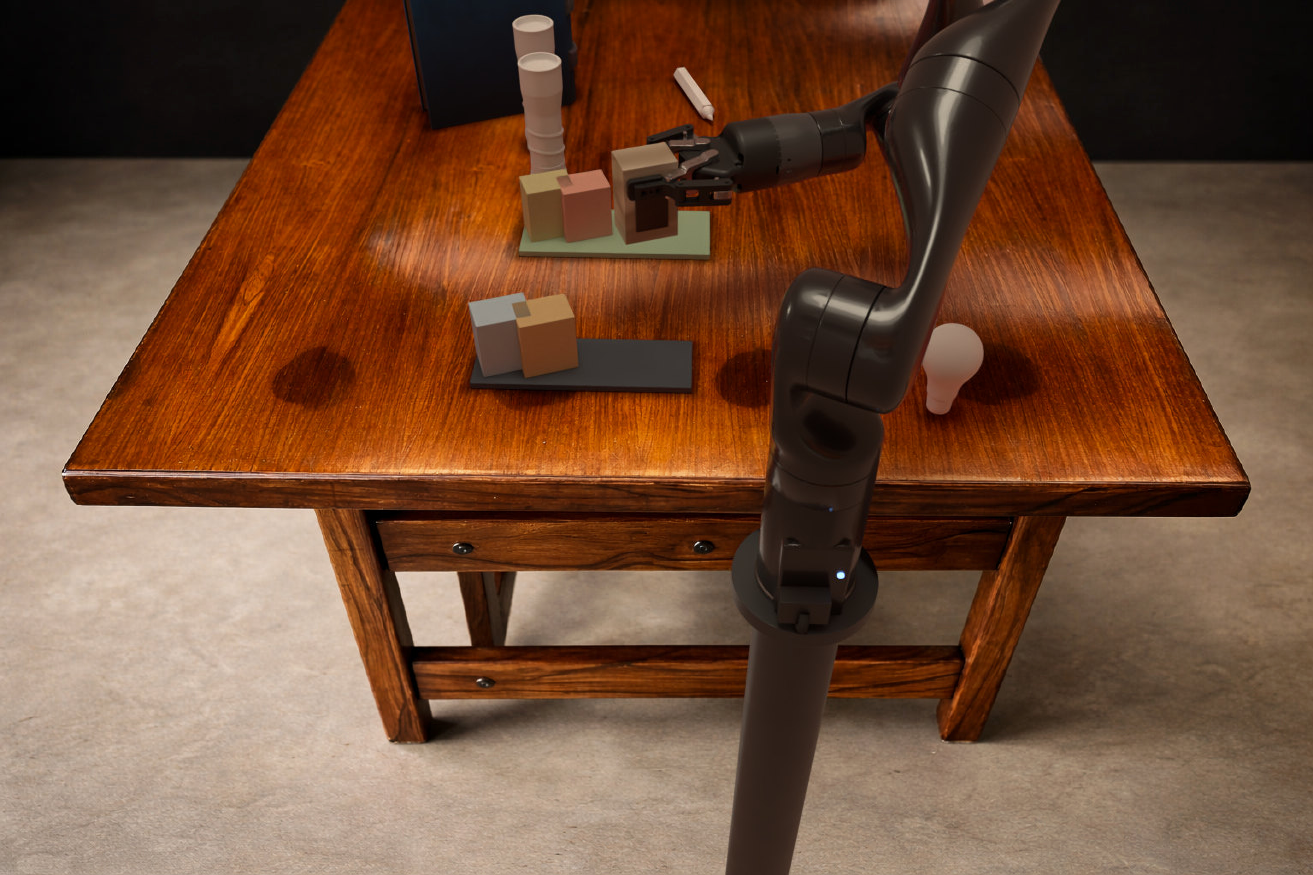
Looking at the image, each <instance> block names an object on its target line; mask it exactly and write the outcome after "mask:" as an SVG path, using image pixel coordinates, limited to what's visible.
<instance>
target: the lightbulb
mask: <svg viewBox="0 0 1313 875" xmlns="http://www.w3.org/2000/svg"><path fill="white" fill-rule="evenodd" d="M984 354H985V352H984V345H983V342H982V340H981V339H980V337H979V335H978V334H977V333H976V332H975V330H973V329H972V328H971V327H969V326H967V325H965V324H961V323H957V322H955V323H953V322H950V323H949V322H947V323H943V324H941V325H939V326H936V327H934V330H933V333H932V336H931V340H930V342H929V345H928V348H927V351H926V354H925V357H924V359H923V362H922V365H921V366H922V367H923V370H924V372H925V374H926V378H927V384H926V393H927V396H926V403H925V406H926V408H927V410H928V411H929V412H930V413H932V414H935V415H945V414H947V413H948V412H950V410H951V407H952V405H953V402H954V400H955V399H956V398H957V396H958V394H959V391H960V389H961V388H962V386H963V385H964V384H965V383H966V382H968V381H969V380H970V379H971V378H973V376H974V375H976V374H977V373H978V371H979V369H980V368H981V366H982V364H983V361H984Z"/></svg>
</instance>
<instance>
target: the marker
mask: <svg viewBox="0 0 1313 875" xmlns="http://www.w3.org/2000/svg"><path fill="white" fill-rule="evenodd" d="M673 77H674V79H675V81H676V82H677V83H678V85H679V86H680V87H681V89H682V90H683V92H684V94H685V95H686V96H687V98H688V99H689V101H690V102H691V103H692V105H693V107H694V108H695V109H696V111H697V112H698V114H699V115H700V116H701V118H702V119H708V120H709V121H712V122H713V121H714V117H713V116H714V113H715V111H716V109H715V108H714V106H713V105H712V103H711V101H710V100H709V98H708V97H707V96H706V94H704V92H703V91H702V89H701V88H700V87H699V85H698V83H697V82H696V81H695V80H694V79H693V77H692V76H691V74H690V73H689V71H688V70H687V68H686V67H685V66H683V67H676V70H675V71H674V73H673Z"/></svg>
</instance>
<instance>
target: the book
mask: <svg viewBox="0 0 1313 875" xmlns="http://www.w3.org/2000/svg"><path fill="white" fill-rule="evenodd" d="M402 3H403V9H404V15H405V20H406V27H407V31H408V38H409V43H410V50H411V54H412V55H411V56H412V61H413V66H414V71H415V77H416V82H417V84H416V85H417V89H418V95H419V100H420V105H421V110H422V111H423V112H425V111H427V112H428V113H427V114H428V118H429V123H430V128H431V130H432V131H433V130H438V129H444V128H449V127H454V126H459V125H460V126H461V125H466V124H471V123H476V122H477V123H478V122H482V121H488V120H493V119H498V118H503V117H504V118H505V117H510V116H515V115H521V114H525V111H524V106H523V104H522V103H523V97H522V93H521V88H520V78H519V68H518V59H517V55H516V51H515V42H514V32H513V26H512V24H513V22H514V21H515V20H516V19H517V18H520V17H523V16H527V15H542V16H546V17H548V18H550V19H551V20H552V21H553V30H554V44H555V51H554V54H555V55H557V56H558V57H559V58H560V59H561V71H562V85H563V88H562V101H561V107H563V106H569V105H571V104H573V103H574V102H575V101H576V99H577V93H576V92H577V91H576V78H575V77H576V76H575V67H576V66H577V65H578V63H579V62H578V46H577V43H576V42H575V41H574V40H573V29H572V14H571V13H572V12H573V11H574V10H575V0H402Z"/></svg>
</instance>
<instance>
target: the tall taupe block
mask: <svg viewBox="0 0 1313 875" xmlns="http://www.w3.org/2000/svg"><path fill="white" fill-rule="evenodd" d="M610 153H611V154H610V156H611V169H612V170H611V174H612V194H613V195H612V196H613V210H614V217H615V225H616V227H617V229H618V231H619V233H620V235H621V237H622V239H623V240H624V242H625V244H626V245H629V244H634V243H639V242H645V241H650V240H655V239H661V238H666V237H671V236H677V235H678V211H679V207H677V206H675V200H673V199H666V198H664V196H661V197H655V198H649V199H644V200H636V201H630V200H629V198H628V197H627V189H626V183H627V181H628V180H629V179H634V178H640V177H645V176H651V175H657V174H661V176H662V178H664V174H666V173H668V172H671V171H674V170H676V169H678V158H676V156H674V155H673V153H672V152H671V150H670V149H669V147H668V146H667V144H666V143H665V142H661V143H657V144H651V145H646V144H645V145H639V146H634V147H627V148H621V149H615V150H611V152H610ZM677 181H679V180H677Z"/></svg>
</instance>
